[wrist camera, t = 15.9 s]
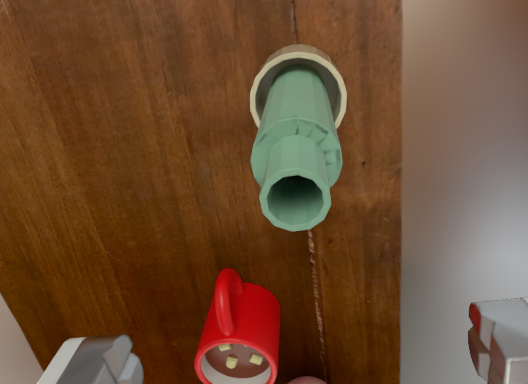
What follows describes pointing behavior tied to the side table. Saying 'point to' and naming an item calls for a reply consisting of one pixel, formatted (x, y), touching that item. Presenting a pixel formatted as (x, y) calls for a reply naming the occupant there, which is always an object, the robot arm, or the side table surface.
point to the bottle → (296, 150)
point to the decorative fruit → (307, 380)
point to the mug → (239, 334)
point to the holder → (306, 57)
